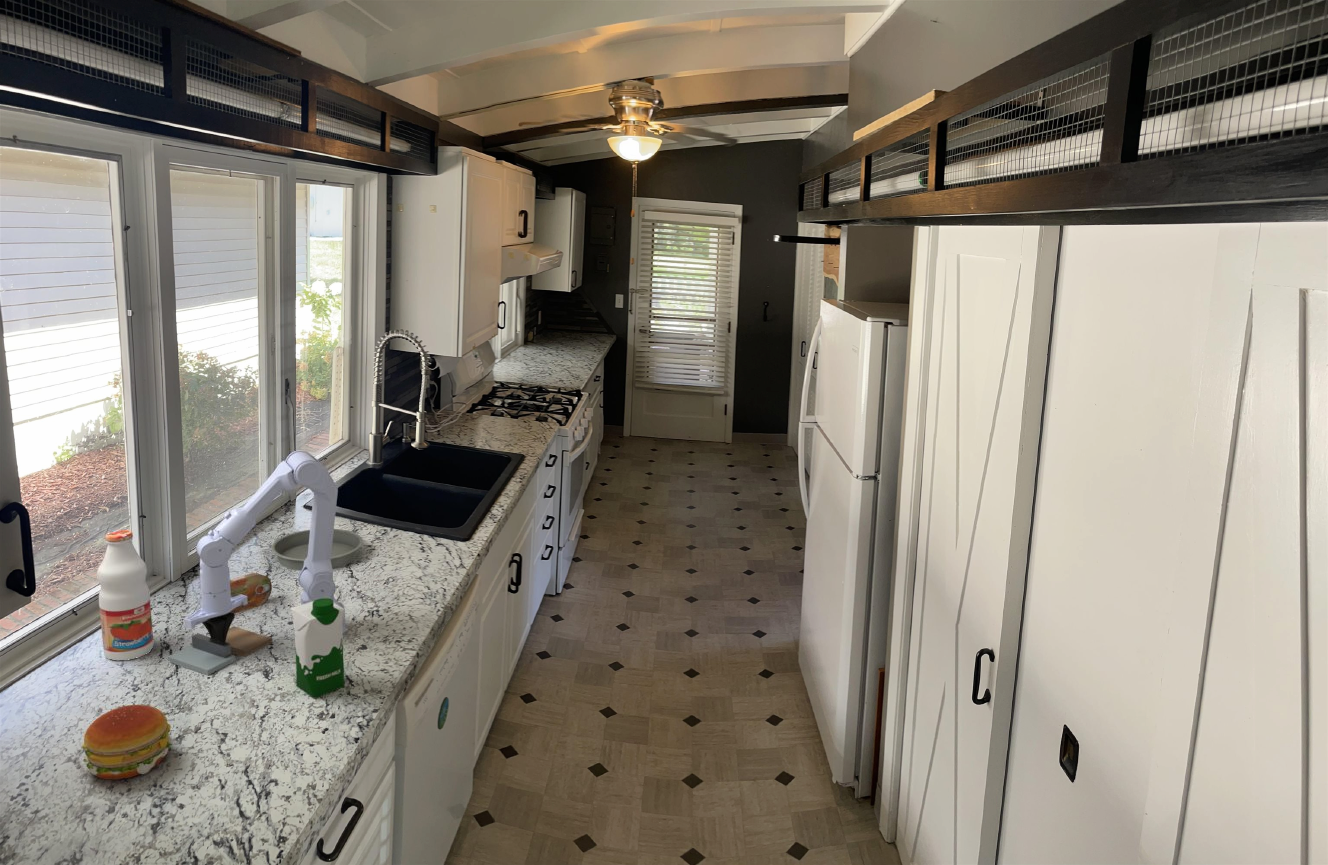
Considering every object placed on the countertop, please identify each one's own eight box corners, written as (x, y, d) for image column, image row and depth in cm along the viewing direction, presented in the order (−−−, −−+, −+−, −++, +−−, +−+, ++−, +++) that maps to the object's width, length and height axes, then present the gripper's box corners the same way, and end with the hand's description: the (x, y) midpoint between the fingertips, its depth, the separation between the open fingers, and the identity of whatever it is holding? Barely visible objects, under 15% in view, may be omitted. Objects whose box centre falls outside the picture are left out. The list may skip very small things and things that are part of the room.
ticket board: (272, 642, 197) (272, 637, 196) (243, 657, 189) (243, 652, 189) (234, 630, 201) (233, 625, 201) (204, 644, 194) (204, 639, 193)
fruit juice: (138, 637, 195) (128, 522, 188) (163, 649, 190) (153, 532, 184) (95, 654, 187) (83, 534, 180) (119, 666, 182) (107, 544, 176)
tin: (213, 620, 205) (211, 588, 203) (206, 616, 207) (204, 584, 205) (273, 602, 217) (271, 571, 215) (266, 598, 219) (265, 567, 217)
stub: (235, 661, 187) (234, 644, 186) (207, 675, 181) (206, 658, 180) (196, 648, 192) (195, 631, 191) (167, 661, 185) (166, 644, 184)
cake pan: (252, 565, 239) (251, 550, 238) (311, 537, 262) (311, 523, 261) (326, 580, 232) (325, 565, 231) (380, 550, 255) (380, 536, 254)
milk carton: (311, 702, 174) (308, 612, 169) (289, 685, 180) (285, 598, 175) (350, 686, 181) (348, 599, 176) (328, 670, 186) (325, 586, 182)
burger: (72, 763, 151) (67, 712, 149) (155, 731, 161) (151, 683, 159) (102, 796, 143) (97, 744, 141) (187, 761, 153) (183, 711, 151)
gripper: (230, 573, 195) (233, 627, 198) (172, 596, 182) (177, 654, 185) (253, 580, 192) (255, 634, 195) (196, 603, 179) (200, 662, 182)
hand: (219, 644), depth 190 cm, fingers closed
